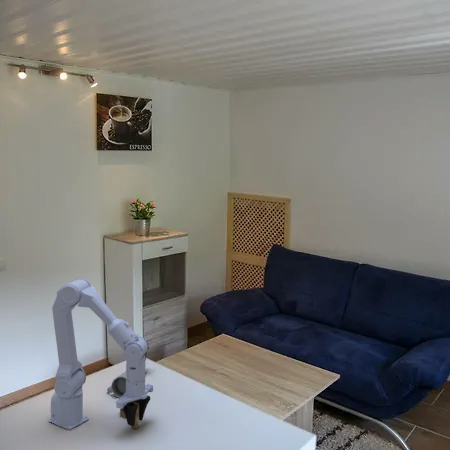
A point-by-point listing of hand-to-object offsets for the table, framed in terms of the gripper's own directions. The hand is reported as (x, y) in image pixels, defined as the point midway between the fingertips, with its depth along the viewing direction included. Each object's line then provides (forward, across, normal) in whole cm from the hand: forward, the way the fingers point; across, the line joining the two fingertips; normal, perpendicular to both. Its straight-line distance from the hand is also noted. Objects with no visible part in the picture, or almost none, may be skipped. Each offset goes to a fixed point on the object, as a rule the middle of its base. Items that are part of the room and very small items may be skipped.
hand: (135, 422), depth 146 cm
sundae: (+2, +33, +26) cm, 42 cm away
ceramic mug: (+2, +16, +20) cm, 25 cm away
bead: (+2, +6, +7) cm, 9 cm away
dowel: (+2, 0, 0) cm, 2 cm away
